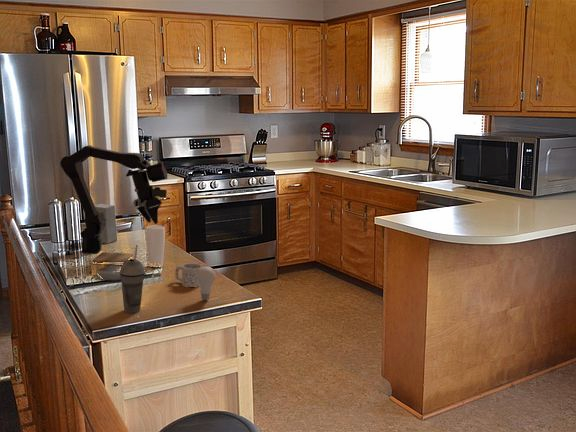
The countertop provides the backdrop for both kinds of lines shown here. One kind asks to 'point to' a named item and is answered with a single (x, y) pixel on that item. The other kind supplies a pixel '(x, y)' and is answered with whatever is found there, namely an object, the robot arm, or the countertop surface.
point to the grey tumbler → (155, 243)
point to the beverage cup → (132, 284)
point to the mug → (188, 274)
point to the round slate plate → (109, 273)
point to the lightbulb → (205, 281)
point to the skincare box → (108, 223)
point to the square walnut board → (112, 257)
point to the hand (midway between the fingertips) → (152, 223)
